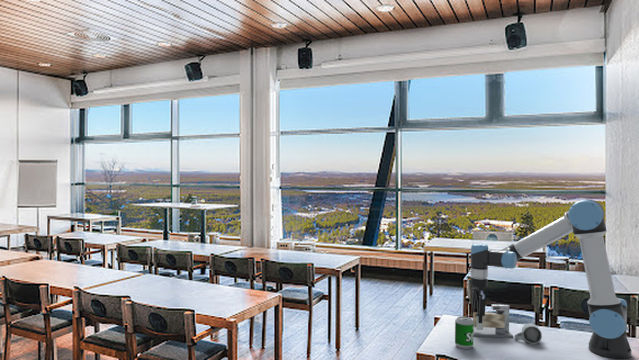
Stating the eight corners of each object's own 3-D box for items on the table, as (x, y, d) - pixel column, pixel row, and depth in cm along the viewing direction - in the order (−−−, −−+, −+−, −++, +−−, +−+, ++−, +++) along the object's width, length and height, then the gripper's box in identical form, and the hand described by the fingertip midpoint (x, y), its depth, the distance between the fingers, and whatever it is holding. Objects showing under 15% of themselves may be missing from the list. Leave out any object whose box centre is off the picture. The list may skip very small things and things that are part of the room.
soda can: (461, 350, 186) (461, 321, 186) (451, 344, 193) (451, 316, 193) (477, 349, 188) (477, 320, 188) (466, 342, 195) (467, 315, 195)
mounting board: (513, 337, 203) (513, 329, 203) (472, 336, 203) (472, 328, 203) (500, 326, 218) (500, 319, 218) (462, 325, 218) (462, 318, 218)
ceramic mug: (539, 339, 202) (539, 322, 202) (542, 345, 194) (541, 327, 194) (513, 336, 205) (513, 319, 205) (515, 342, 197) (515, 325, 197)
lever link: (502, 325, 207) (502, 308, 207) (505, 328, 204) (505, 311, 204) (472, 324, 208) (472, 308, 208) (475, 327, 204) (475, 310, 204)
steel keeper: (508, 333, 208) (509, 306, 208) (492, 333, 208) (492, 305, 208) (507, 332, 210) (507, 304, 210) (491, 332, 210) (491, 304, 210)
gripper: (465, 273, 214) (464, 322, 214) (476, 281, 198) (475, 334, 198) (481, 274, 214) (480, 323, 214) (493, 281, 198) (492, 334, 198)
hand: (478, 328), depth 206 cm, fingers closed on lever link, 3 cm apart
